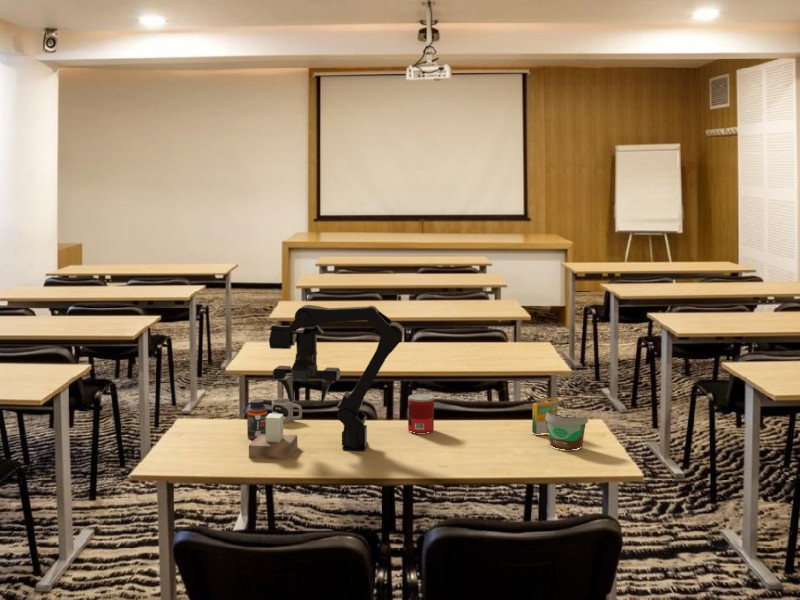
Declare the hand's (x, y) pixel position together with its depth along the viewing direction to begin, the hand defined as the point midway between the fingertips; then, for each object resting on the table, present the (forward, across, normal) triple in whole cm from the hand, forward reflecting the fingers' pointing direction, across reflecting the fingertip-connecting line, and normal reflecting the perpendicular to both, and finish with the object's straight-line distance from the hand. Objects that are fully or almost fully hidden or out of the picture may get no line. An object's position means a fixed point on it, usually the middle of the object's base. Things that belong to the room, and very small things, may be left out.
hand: (306, 402), depth 226 cm
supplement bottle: (+13, -17, +6) cm, 22 cm away
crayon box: (+13, +69, +23) cm, 74 cm away
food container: (+13, +74, +9) cm, 76 cm away
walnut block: (+14, -8, -7) cm, 17 cm away
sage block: (+9, -8, -7) cm, 14 cm away
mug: (+13, -13, +24) cm, 30 cm away
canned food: (+13, +31, +20) cm, 39 cm away
